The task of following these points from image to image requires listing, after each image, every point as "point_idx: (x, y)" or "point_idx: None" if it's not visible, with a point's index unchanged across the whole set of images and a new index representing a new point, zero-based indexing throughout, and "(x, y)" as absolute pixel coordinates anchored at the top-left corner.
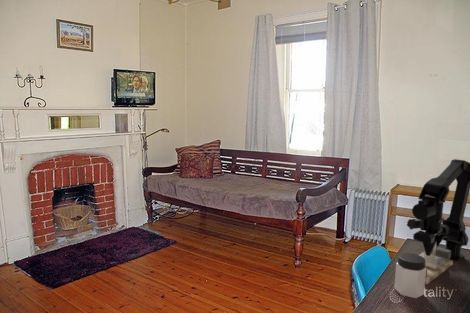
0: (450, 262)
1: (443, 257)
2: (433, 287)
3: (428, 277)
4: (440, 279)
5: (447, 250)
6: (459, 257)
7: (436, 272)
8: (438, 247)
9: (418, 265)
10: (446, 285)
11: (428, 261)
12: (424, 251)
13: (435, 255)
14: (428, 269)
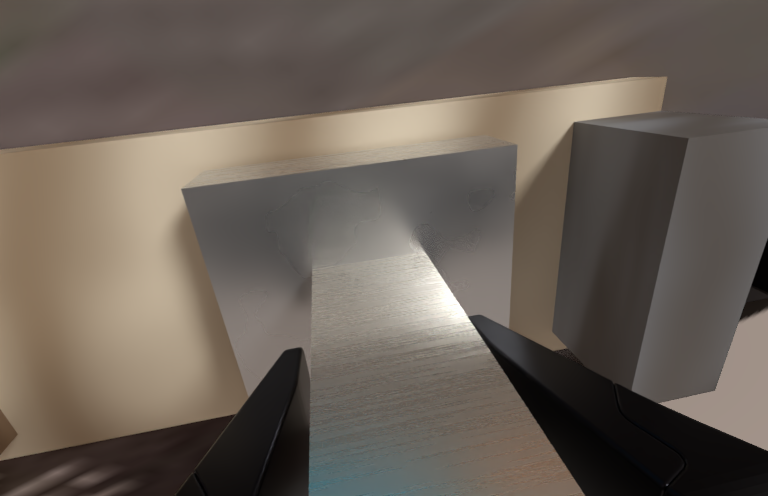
0: (566, 347)
1: (579, 322)
2: (25, 470)
3: (47, 436)
4: (224, 418)
5: (691, 373)
6: (761, 292)
7: (235, 407)
8: (736, 271)
9: None
10: (172, 481)
11: (261, 357)
12: (312, 332)
13: (586, 244)
14: (221, 344)
